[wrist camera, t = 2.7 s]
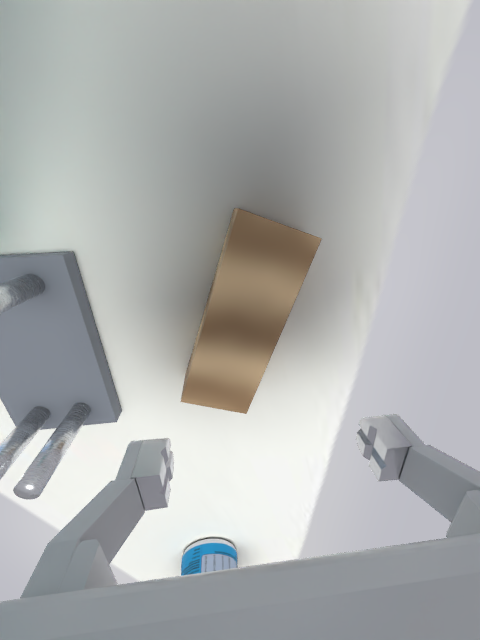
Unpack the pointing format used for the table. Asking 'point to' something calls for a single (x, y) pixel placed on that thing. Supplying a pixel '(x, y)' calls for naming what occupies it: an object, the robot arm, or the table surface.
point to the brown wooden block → (246, 310)
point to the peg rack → (49, 362)
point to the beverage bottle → (208, 557)
